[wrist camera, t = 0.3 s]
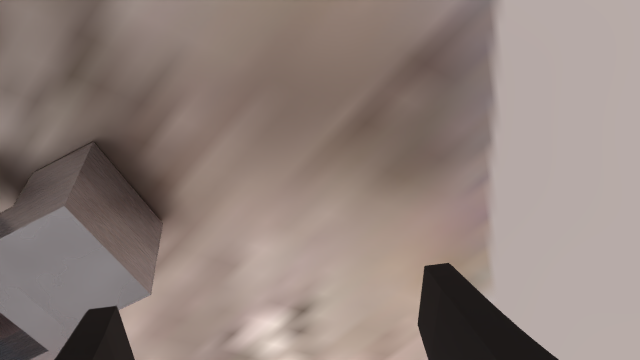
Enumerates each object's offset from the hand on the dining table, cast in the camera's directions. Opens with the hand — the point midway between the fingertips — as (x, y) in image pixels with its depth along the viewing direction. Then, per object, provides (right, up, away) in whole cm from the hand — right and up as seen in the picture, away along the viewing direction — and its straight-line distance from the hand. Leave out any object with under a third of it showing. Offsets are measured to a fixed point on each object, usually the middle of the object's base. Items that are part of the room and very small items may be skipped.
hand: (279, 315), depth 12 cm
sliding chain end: (-11, +1, +9) cm, 14 cm away
